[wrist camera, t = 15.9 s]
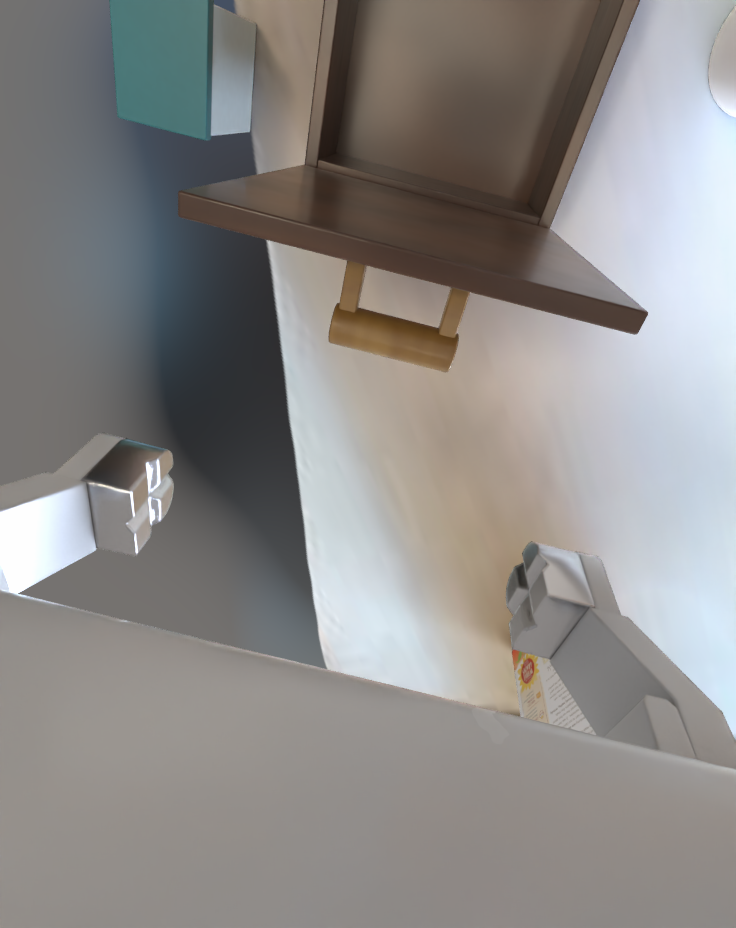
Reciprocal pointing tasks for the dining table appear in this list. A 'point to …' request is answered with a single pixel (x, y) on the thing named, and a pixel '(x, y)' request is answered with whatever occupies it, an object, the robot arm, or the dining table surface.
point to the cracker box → (545, 694)
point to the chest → (463, 96)
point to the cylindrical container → (724, 66)
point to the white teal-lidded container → (183, 66)
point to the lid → (412, 255)
